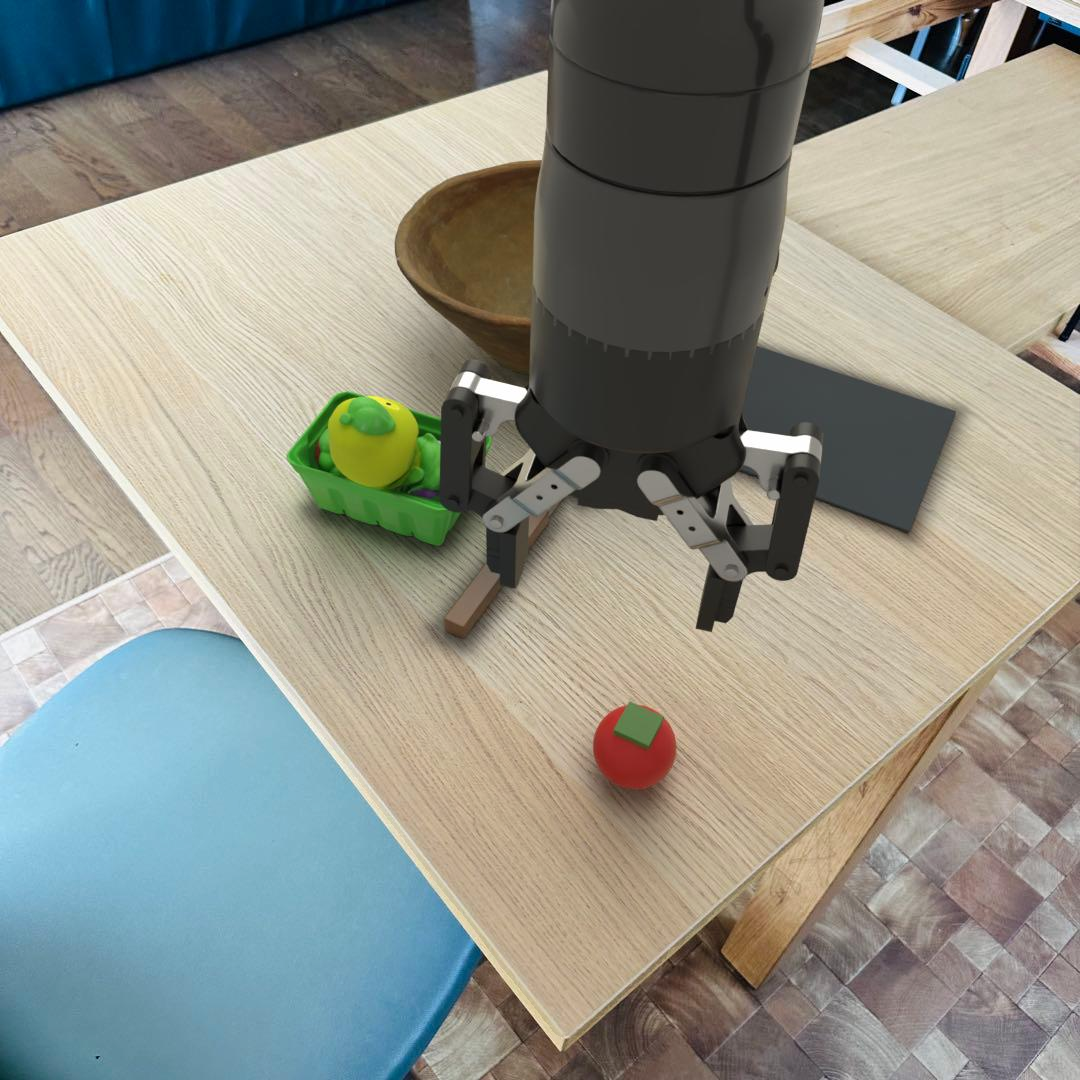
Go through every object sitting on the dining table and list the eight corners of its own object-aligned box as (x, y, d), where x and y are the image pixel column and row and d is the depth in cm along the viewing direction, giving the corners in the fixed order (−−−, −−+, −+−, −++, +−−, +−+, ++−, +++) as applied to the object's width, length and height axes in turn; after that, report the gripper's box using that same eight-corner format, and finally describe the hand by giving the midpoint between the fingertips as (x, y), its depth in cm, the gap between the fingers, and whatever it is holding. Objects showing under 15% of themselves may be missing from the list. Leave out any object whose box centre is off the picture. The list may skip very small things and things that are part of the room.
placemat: (955, 413, 77) (956, 410, 77) (908, 533, 68) (909, 531, 68) (753, 346, 82) (753, 344, 81) (686, 451, 73) (686, 449, 73)
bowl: (696, 453, 73) (719, 338, 66) (379, 424, 74) (366, 308, 66) (695, 278, 88) (714, 169, 80) (430, 256, 89) (424, 146, 81)
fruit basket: (497, 488, 70) (496, 355, 62) (442, 580, 64) (434, 448, 56) (347, 443, 72) (328, 310, 64) (282, 529, 67) (252, 394, 58)
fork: (573, 434, 74) (574, 421, 73) (618, 451, 73) (620, 438, 72) (428, 623, 62) (427, 611, 61) (480, 647, 61) (479, 634, 60)
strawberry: (683, 753, 57) (695, 708, 53) (651, 818, 54) (661, 775, 51) (611, 720, 58) (618, 674, 55) (576, 781, 55) (581, 737, 52)
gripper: (397, 299, 31) (425, 625, 43) (875, 384, 29) (764, 702, 41) (469, 179, 36) (476, 502, 48) (882, 245, 34) (781, 565, 46)
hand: (609, 594), depth 45 cm, fingers open, 8 cm apart
